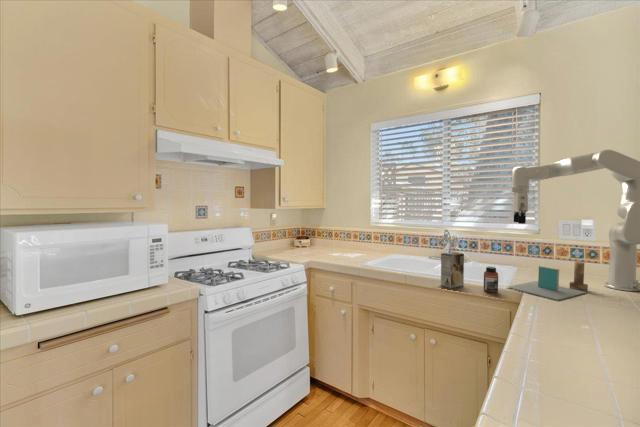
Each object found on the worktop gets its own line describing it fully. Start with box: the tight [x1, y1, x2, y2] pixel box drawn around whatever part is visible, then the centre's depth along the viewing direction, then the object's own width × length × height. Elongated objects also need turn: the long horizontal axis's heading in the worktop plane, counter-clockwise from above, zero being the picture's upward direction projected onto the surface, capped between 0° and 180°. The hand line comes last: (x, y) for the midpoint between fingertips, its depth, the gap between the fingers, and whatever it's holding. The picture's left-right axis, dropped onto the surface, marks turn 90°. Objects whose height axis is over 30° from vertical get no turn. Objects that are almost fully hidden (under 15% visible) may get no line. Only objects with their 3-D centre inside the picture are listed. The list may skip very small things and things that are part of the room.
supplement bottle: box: [483, 266, 499, 294], centre depth 149 cm, size 6×6×11 cm
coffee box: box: [440, 251, 465, 289], centre depth 159 cm, size 9×6×16 cm
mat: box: [507, 280, 588, 302], centre depth 150 cm, size 22×24×1 cm
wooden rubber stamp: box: [568, 261, 589, 292], centre depth 152 cm, size 6×4×13 cm, turn 27°
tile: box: [537, 265, 560, 291], centre depth 151 cm, size 8×2×10 cm, turn 27°
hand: (519, 222), depth 170 cm, fingers open, 9 cm apart
